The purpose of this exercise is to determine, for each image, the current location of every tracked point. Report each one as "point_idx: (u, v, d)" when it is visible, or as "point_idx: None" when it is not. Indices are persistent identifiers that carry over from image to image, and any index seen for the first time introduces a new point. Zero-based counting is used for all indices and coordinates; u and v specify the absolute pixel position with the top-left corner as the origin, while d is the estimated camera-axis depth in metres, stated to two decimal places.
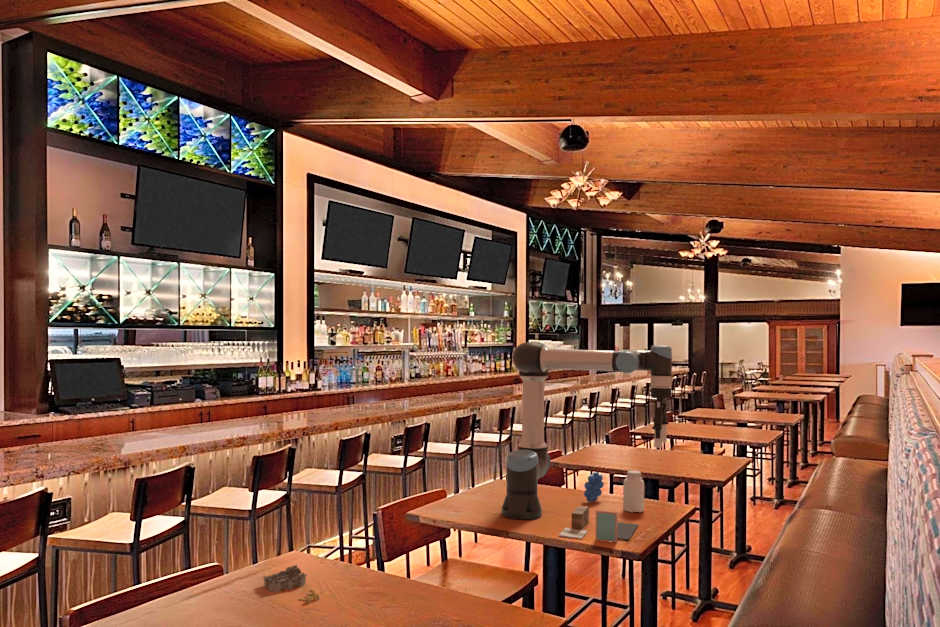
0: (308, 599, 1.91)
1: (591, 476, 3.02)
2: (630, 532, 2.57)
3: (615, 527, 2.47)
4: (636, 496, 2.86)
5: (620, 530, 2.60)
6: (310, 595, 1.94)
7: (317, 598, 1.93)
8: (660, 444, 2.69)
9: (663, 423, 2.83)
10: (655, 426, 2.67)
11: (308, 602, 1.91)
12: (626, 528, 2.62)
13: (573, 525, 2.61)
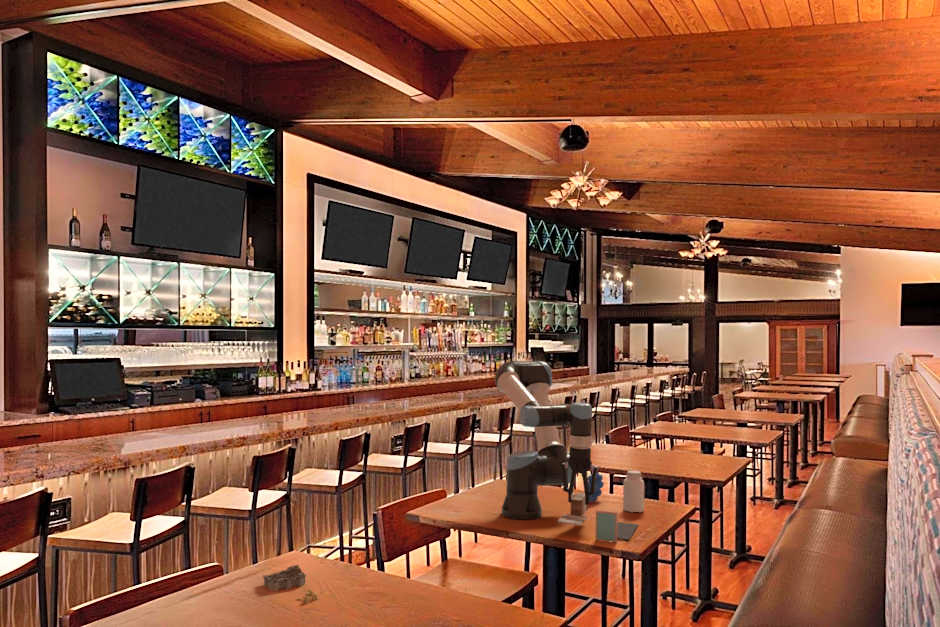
0: (306, 599, 1.91)
1: (591, 476, 3.02)
2: (630, 532, 2.57)
3: (615, 527, 2.47)
4: (636, 496, 2.86)
5: (620, 530, 2.60)
6: (308, 595, 1.94)
7: (315, 598, 1.93)
8: None
9: None
10: None
11: (306, 602, 1.91)
12: (626, 528, 2.62)
13: (572, 511, 2.62)
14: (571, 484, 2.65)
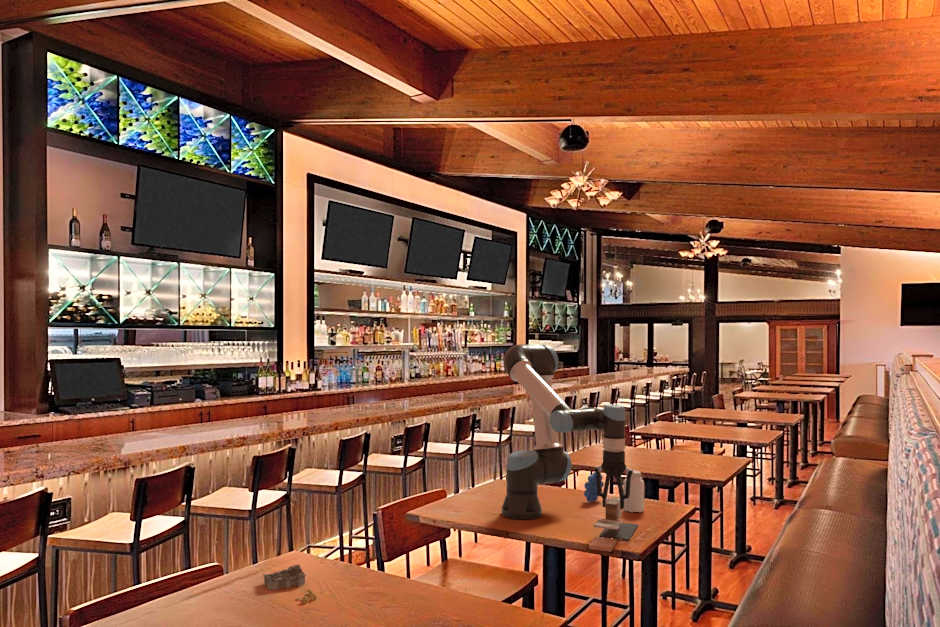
0: (304, 599, 1.91)
1: (591, 476, 3.02)
2: (630, 532, 2.57)
3: None
4: (636, 496, 2.86)
5: (620, 530, 2.60)
6: (307, 595, 1.94)
7: (314, 598, 1.93)
8: (605, 513, 2.60)
9: (620, 497, 2.59)
10: None
11: (304, 602, 1.90)
12: (626, 528, 2.62)
13: (607, 516, 2.56)
14: (605, 488, 2.60)
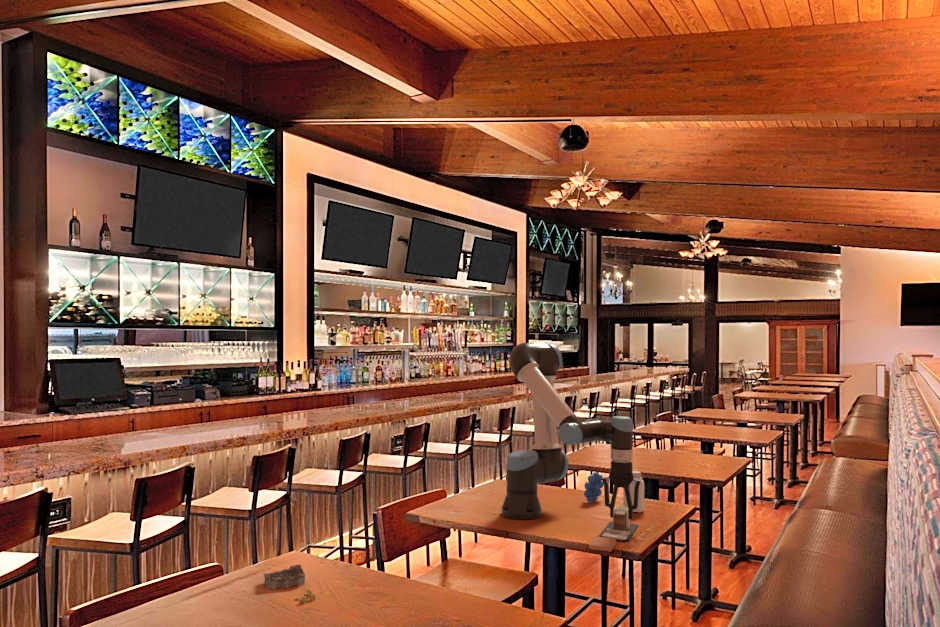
0: (303, 599, 1.90)
1: (591, 476, 3.02)
2: None
3: None
4: None
5: None
6: (306, 595, 1.94)
7: (313, 598, 1.93)
8: (613, 524, 2.63)
9: None
10: None
11: (303, 602, 1.90)
12: None
13: (615, 526, 2.59)
14: (613, 499, 2.62)
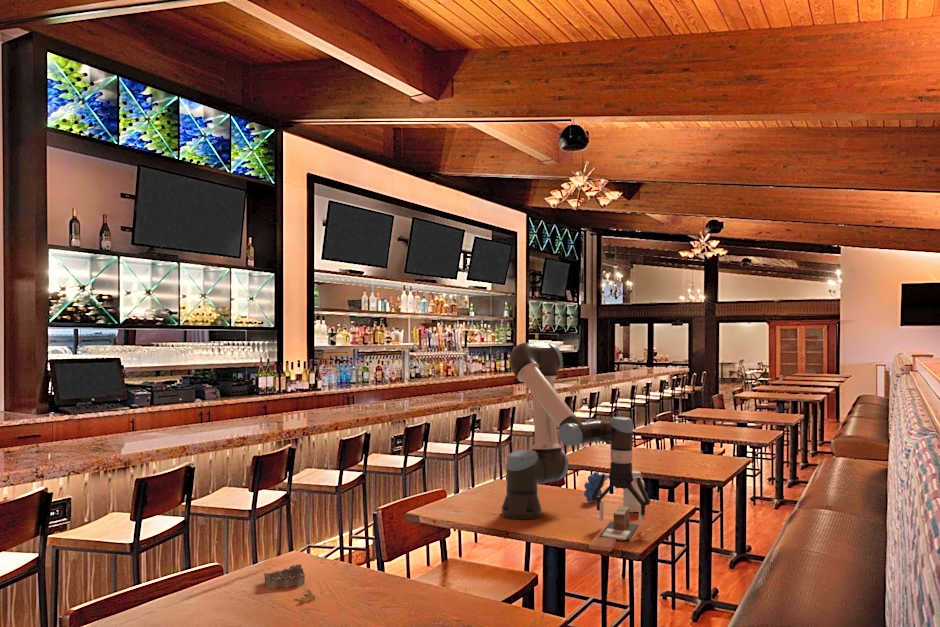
0: (302, 599, 1.90)
1: (591, 476, 3.02)
2: None
3: None
4: None
5: None
6: (306, 595, 1.94)
7: (312, 598, 1.93)
8: None
9: None
10: None
11: (302, 602, 1.90)
12: (626, 528, 2.62)
13: (615, 526, 2.59)
14: (603, 494, 2.64)
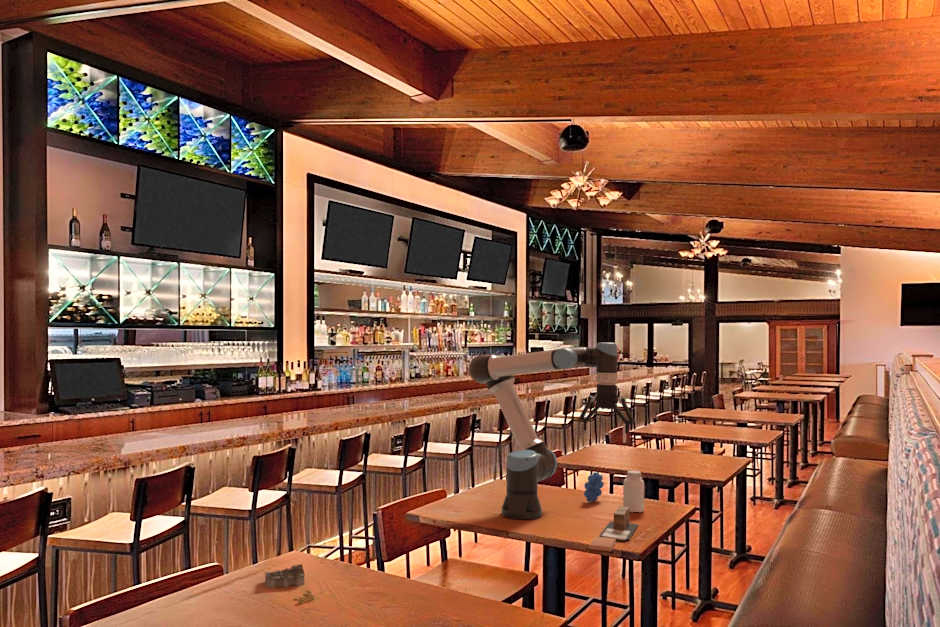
0: (301, 599, 1.90)
1: (591, 476, 3.02)
2: None
3: None
4: (636, 496, 2.86)
5: None
6: (305, 595, 1.94)
7: (311, 598, 1.93)
8: None
9: None
10: None
11: (301, 602, 1.90)
12: (626, 528, 2.62)
13: (615, 526, 2.59)
14: (590, 415, 2.80)
